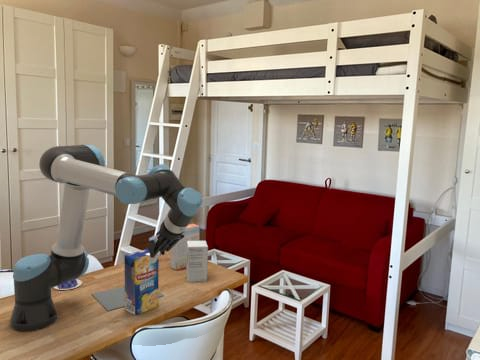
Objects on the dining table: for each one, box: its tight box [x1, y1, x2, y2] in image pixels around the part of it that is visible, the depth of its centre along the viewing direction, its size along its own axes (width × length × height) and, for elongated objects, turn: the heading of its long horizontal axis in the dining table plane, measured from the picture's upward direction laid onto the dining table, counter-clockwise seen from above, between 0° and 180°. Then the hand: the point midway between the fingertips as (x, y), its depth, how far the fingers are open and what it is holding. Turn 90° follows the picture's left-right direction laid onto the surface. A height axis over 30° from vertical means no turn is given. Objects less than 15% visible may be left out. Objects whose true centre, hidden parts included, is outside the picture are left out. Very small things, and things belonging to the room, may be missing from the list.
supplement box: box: [185, 240, 209, 283], centre depth 191 cm, size 10×9×17 cm
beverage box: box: [123, 248, 160, 316], centre depth 158 cm, size 7×11×22 cm, turn 140°
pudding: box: [52, 278, 83, 291], centre depth 179 cm, size 12×12×5 cm
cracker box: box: [169, 223, 200, 271], centre depth 205 cm, size 14×6×21 cm, turn 130°
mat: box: [91, 285, 165, 312], centre depth 171 cm, size 24×18×1 cm
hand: (151, 259), depth 147 cm, fingers closed
